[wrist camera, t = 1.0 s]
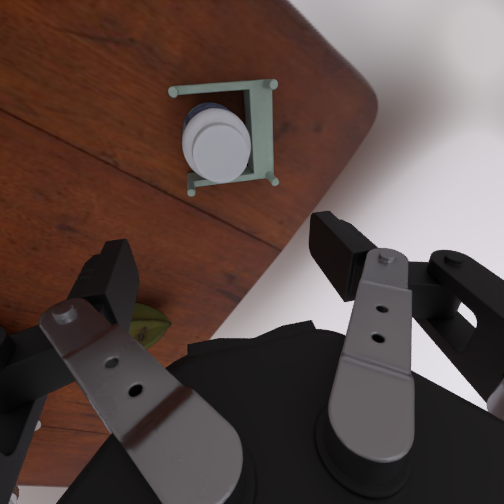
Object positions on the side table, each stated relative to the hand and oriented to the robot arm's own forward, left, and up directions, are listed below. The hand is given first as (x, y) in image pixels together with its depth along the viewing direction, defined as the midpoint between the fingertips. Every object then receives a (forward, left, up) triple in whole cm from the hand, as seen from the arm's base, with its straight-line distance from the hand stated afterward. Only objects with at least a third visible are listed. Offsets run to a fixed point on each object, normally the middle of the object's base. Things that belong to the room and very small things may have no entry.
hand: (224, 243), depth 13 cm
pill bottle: (-2, +1, -19) cm, 19 cm away
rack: (-2, +2, -19) cm, 19 cm away
